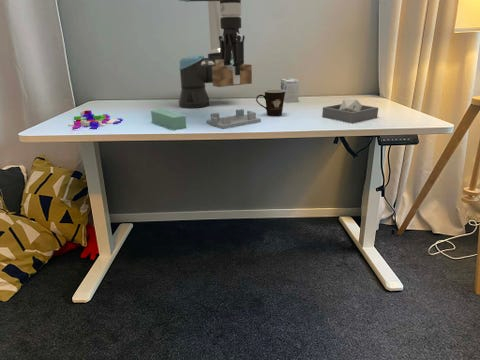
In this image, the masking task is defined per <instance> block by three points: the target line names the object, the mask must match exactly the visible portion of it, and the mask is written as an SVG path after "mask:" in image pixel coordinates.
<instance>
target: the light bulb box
mask: <svg viewBox="0 0 480 360" xmlns="http://www.w3.org/2000/svg"><path fill="white" fill-rule="evenodd" d="M280 90H284V91H285V95H284V103H285V104H286V103H287V104H289V103H299V90H300V80H298V79H297V78H292V77H291V78H288V77H287V78H281V79H280Z"/></svg>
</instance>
